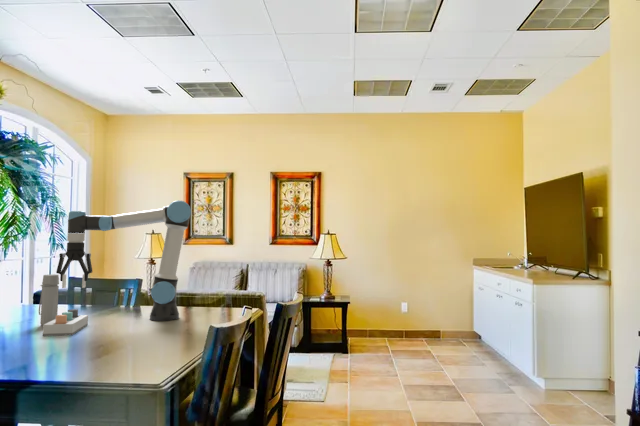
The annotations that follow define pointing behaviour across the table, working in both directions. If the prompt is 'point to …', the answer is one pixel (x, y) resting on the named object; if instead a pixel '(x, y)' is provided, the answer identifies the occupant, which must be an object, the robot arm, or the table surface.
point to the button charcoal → (74, 312)
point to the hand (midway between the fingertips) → (73, 287)
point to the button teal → (68, 315)
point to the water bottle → (49, 298)
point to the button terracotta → (61, 319)
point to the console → (65, 326)
